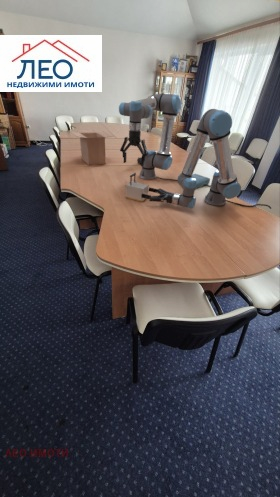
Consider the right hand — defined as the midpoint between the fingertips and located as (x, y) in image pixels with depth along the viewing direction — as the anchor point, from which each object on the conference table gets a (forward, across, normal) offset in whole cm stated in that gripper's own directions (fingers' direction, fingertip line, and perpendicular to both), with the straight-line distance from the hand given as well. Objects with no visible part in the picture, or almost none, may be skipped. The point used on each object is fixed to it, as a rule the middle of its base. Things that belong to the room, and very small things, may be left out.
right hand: (145, 192), depth 161 cm
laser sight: (+34, +87, -6) cm, 93 cm away
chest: (+7, +1, -6) cm, 9 cm away
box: (+87, +63, -6) cm, 107 cm away
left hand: (+11, +1, +18) cm, 21 cm away
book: (-25, +56, -6) cm, 62 cm away
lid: (+7, +1, +3) cm, 8 cm away
